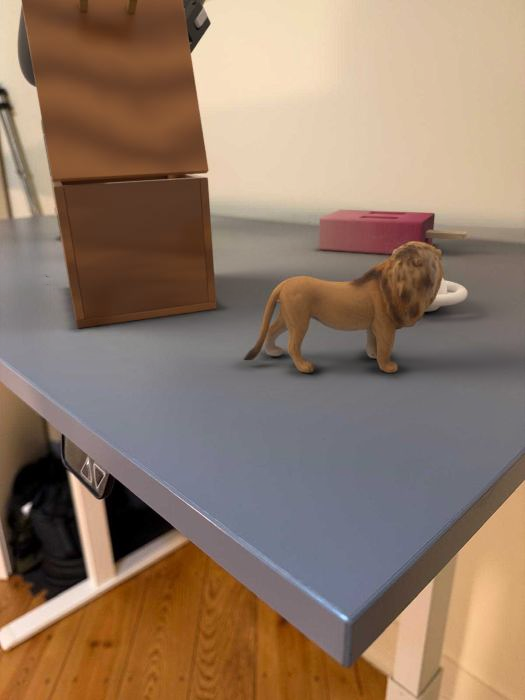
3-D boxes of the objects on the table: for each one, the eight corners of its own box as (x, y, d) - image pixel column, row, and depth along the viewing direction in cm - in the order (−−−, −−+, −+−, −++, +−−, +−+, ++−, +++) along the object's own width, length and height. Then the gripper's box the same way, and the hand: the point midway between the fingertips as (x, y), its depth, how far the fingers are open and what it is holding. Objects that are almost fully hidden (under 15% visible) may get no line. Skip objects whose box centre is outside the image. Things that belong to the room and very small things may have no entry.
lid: (18, -18, 45) (10, -67, 39) (178, -9, 49) (191, -52, 44) (52, 182, 46) (49, 161, 41) (206, 173, 50) (222, 153, 45)
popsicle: (463, 223, 70) (319, 217, 78) (459, 260, 72) (318, 250, 80) (473, 213, 77) (340, 209, 86) (469, 247, 79) (339, 239, 88)
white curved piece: (369, 314, 51) (456, 326, 48) (372, 254, 49) (463, 261, 46) (393, 295, 58) (471, 304, 54) (397, 242, 56) (478, 247, 52)
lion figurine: (422, 345, 44) (432, 234, 41) (446, 371, 39) (459, 248, 36) (242, 353, 43) (237, 242, 40) (244, 382, 38) (238, 257, 35)
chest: (69, 288, 64) (50, 176, 59) (181, 275, 68) (172, 169, 64) (77, 328, 50) (53, 186, 46) (216, 308, 55) (208, 177, 50)
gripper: (106, -49, 58) (35, 66, 53) (216, -77, 51) (148, 52, 46) (144, 15, 64) (84, 124, 59) (247, -2, 58) (190, 119, 53)
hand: (112, 92), depth 53 cm, fingers closed on pill bottle, 5 cm apart
